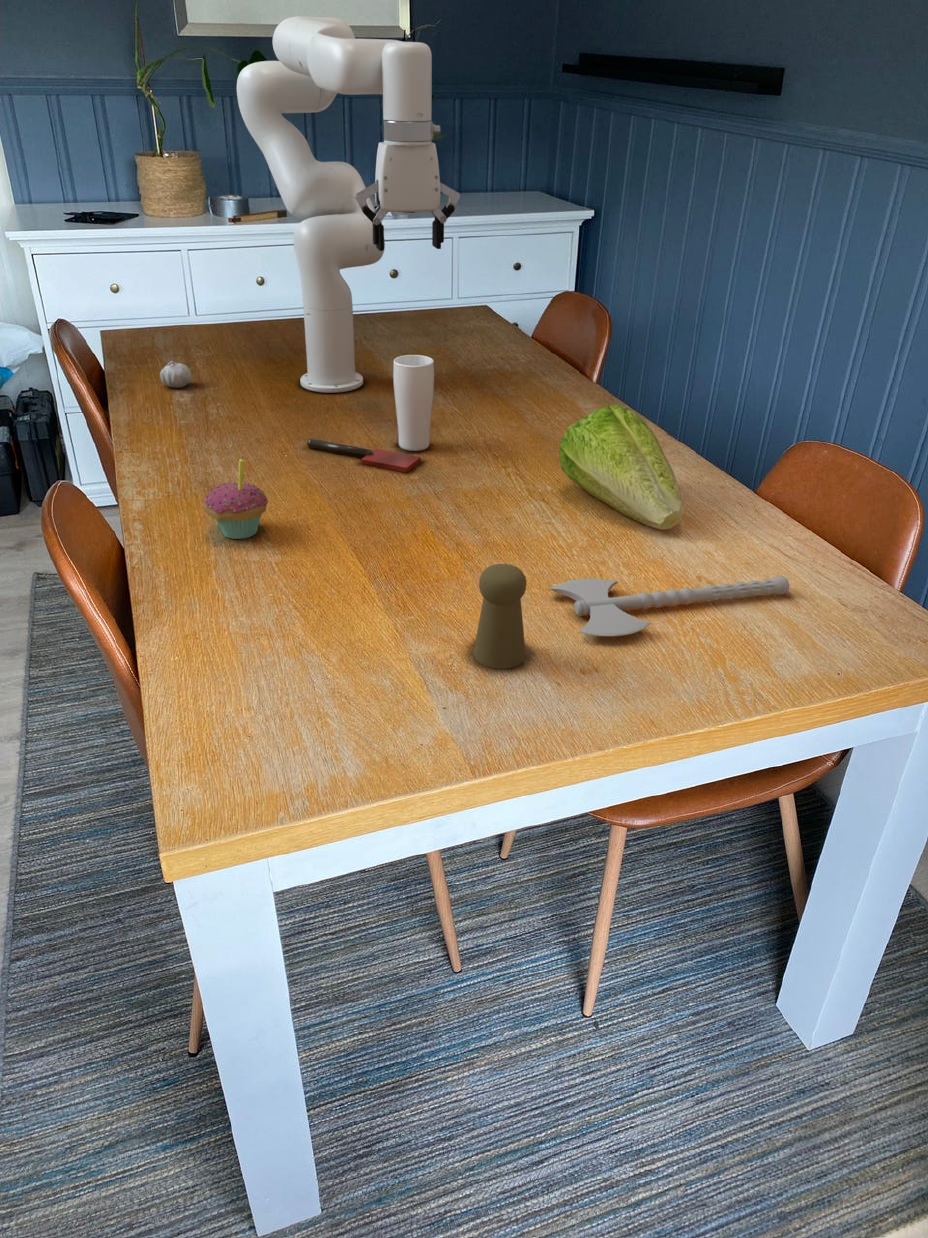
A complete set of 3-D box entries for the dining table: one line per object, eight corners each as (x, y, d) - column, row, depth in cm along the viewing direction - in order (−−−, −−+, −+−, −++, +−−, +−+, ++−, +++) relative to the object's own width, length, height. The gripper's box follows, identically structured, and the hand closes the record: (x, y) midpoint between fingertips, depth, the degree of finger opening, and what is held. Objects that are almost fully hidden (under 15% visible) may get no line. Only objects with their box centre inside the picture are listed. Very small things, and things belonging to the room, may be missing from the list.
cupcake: (281, 526, 137) (274, 447, 130) (246, 550, 130) (237, 468, 124) (232, 514, 140) (223, 436, 133) (195, 537, 133) (184, 456, 127)
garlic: (169, 392, 186) (165, 366, 184) (157, 385, 190) (154, 359, 187) (198, 387, 190) (194, 361, 187) (186, 380, 193) (182, 354, 190)
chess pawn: (470, 640, 112) (473, 557, 106) (521, 639, 112) (526, 556, 107) (475, 669, 107) (478, 583, 101) (529, 668, 107) (535, 582, 101)
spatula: (299, 452, 161) (299, 443, 160) (316, 442, 165) (315, 433, 165) (406, 472, 155) (406, 463, 154) (420, 461, 159) (420, 452, 158)
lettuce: (618, 513, 129) (706, 453, 129) (538, 429, 145) (617, 376, 144) (643, 573, 140) (724, 517, 140) (566, 489, 155) (639, 439, 155)
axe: (756, 568, 129) (759, 552, 128) (812, 620, 117) (816, 603, 116) (545, 590, 122) (546, 574, 121) (582, 648, 111) (584, 631, 110)
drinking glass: (436, 440, 167) (436, 355, 159) (431, 455, 161) (431, 367, 154) (397, 438, 168) (396, 353, 160) (391, 452, 162) (389, 365, 154)
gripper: (454, 131, 155) (452, 242, 164) (348, 131, 151) (353, 245, 160) (467, 135, 149) (464, 251, 158) (357, 135, 145) (361, 254, 153)
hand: (408, 248), depth 159 cm, fingers open, 9 cm apart
